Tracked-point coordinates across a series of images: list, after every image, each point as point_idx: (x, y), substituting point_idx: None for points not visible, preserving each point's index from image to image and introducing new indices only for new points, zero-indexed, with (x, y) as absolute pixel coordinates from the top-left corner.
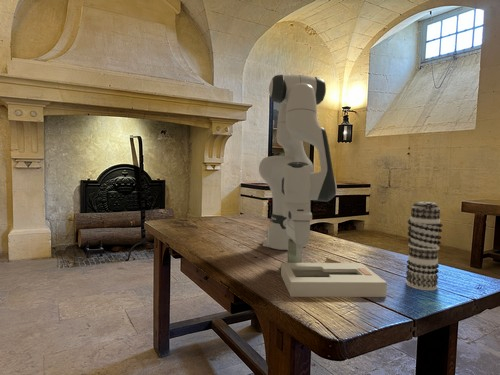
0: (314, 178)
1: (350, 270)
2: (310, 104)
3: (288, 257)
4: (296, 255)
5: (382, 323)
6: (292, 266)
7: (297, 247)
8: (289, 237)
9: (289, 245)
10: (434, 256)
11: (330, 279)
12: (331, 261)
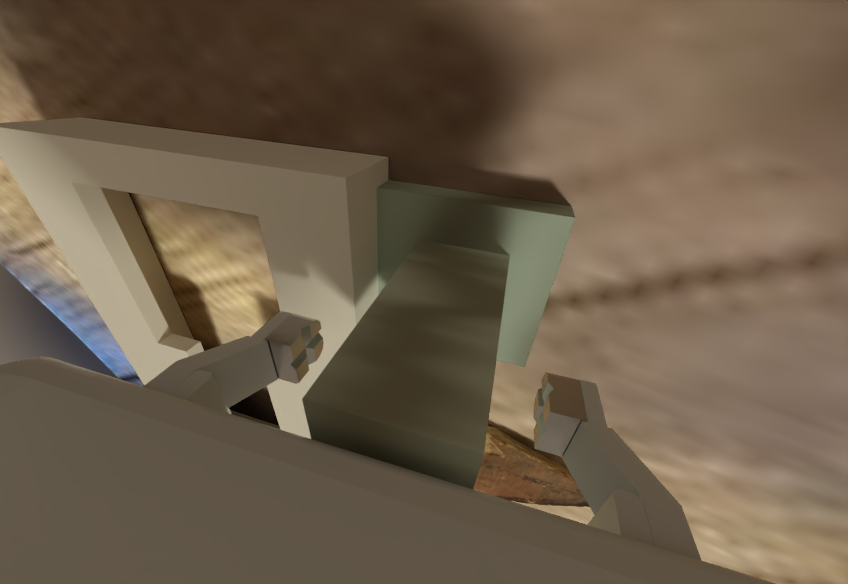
0: None
1: None
2: None
3: (455, 284)
4: (275, 318)
5: (63, 316)
6: (263, 236)
7: (182, 367)
8: (673, 525)
9: (378, 361)
10: None
11: (129, 327)
12: (543, 488)
